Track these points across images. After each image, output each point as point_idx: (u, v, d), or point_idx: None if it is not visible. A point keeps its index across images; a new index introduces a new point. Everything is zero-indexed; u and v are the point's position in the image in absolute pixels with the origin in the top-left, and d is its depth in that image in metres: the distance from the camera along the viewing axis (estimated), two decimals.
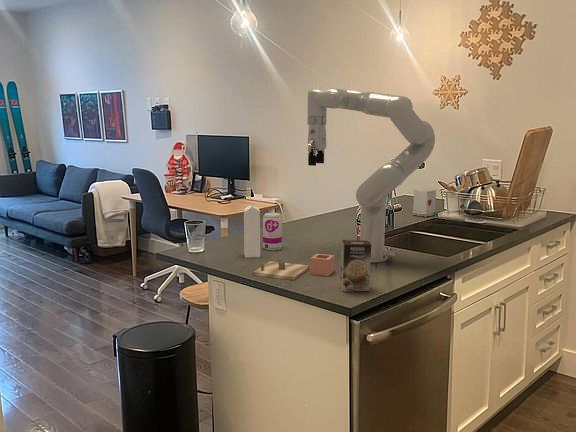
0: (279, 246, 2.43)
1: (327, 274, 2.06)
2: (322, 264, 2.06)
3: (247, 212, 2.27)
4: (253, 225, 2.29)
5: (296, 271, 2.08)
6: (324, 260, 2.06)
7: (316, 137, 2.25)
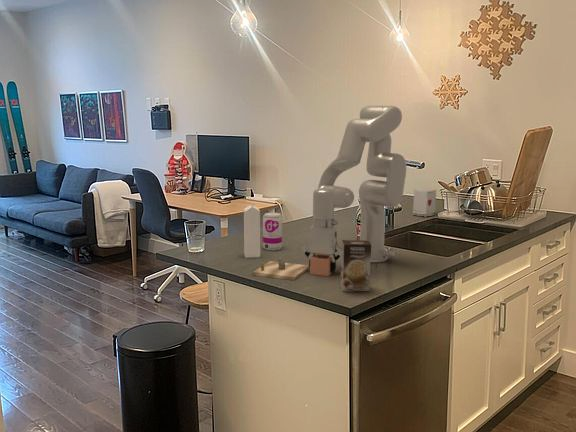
0: (279, 246, 2.43)
1: (327, 274, 2.06)
2: (322, 264, 2.06)
3: (247, 212, 2.27)
4: (253, 225, 2.29)
5: (296, 271, 2.08)
6: (324, 260, 2.06)
7: None
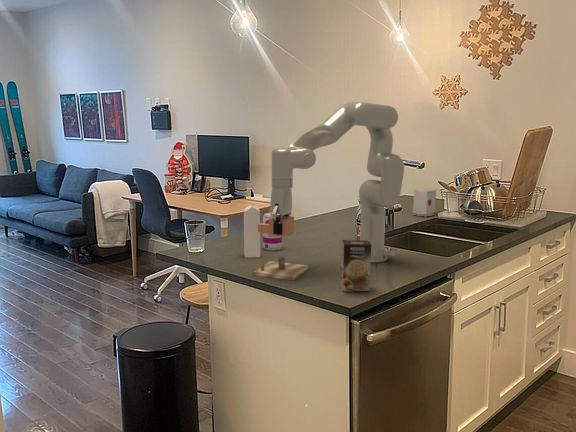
0: (279, 246, 2.43)
1: (293, 231, 2.10)
2: (291, 223, 2.07)
3: (247, 212, 2.27)
4: (253, 225, 2.29)
5: (296, 271, 2.08)
6: (292, 218, 2.08)
7: None
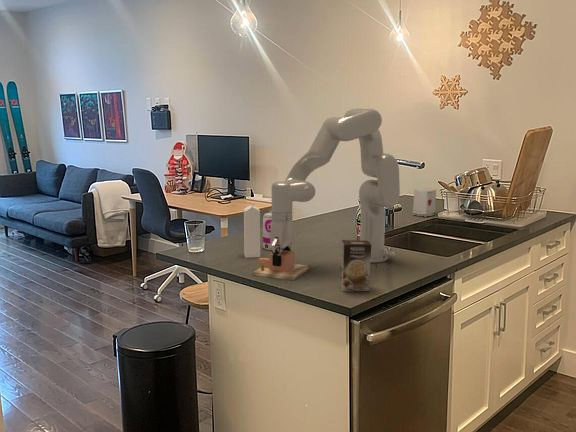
0: (279, 246, 2.43)
1: (293, 266, 2.12)
2: (292, 258, 2.10)
3: (247, 212, 2.27)
4: (253, 225, 2.29)
5: (296, 271, 2.08)
6: (292, 253, 2.10)
7: None
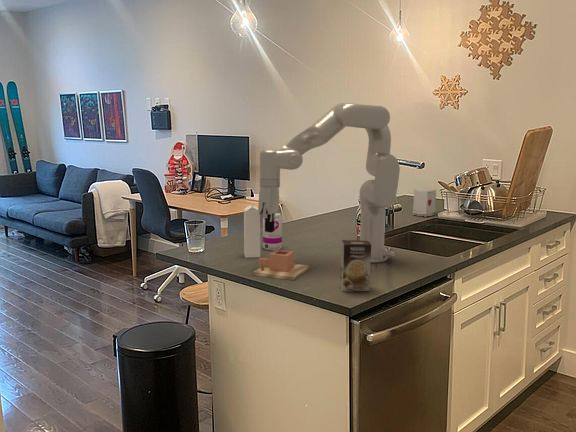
0: (279, 246, 2.43)
1: (293, 266, 2.12)
2: (292, 258, 2.10)
3: (247, 212, 2.27)
4: (253, 225, 2.29)
5: (296, 271, 2.08)
6: (292, 253, 2.10)
7: None
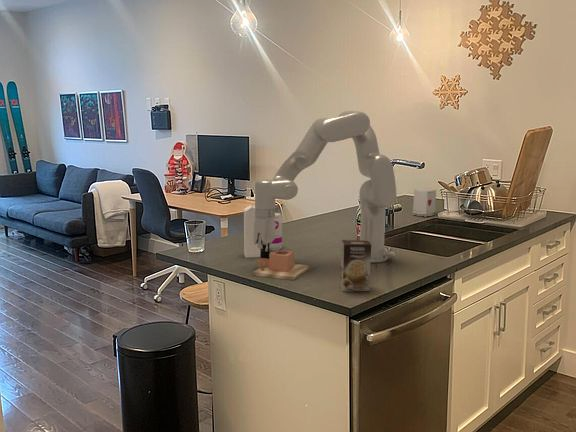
0: (279, 246, 2.43)
1: (293, 265, 2.12)
2: (292, 258, 2.10)
3: (247, 212, 2.27)
4: (253, 225, 2.29)
5: (296, 271, 2.08)
6: (292, 253, 2.10)
7: None
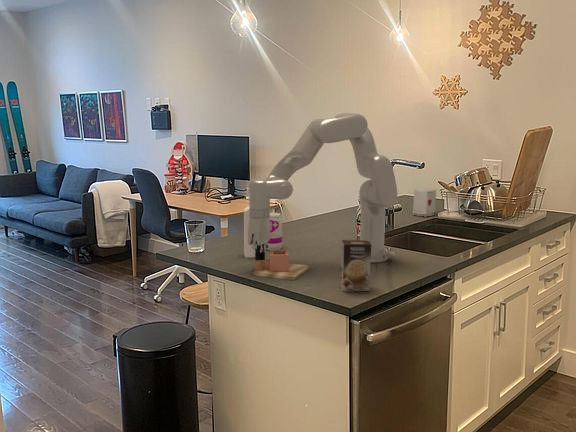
0: (279, 246, 2.43)
1: None
2: None
3: (247, 212, 2.27)
4: None
5: (296, 271, 2.08)
6: (288, 251, 2.11)
7: None
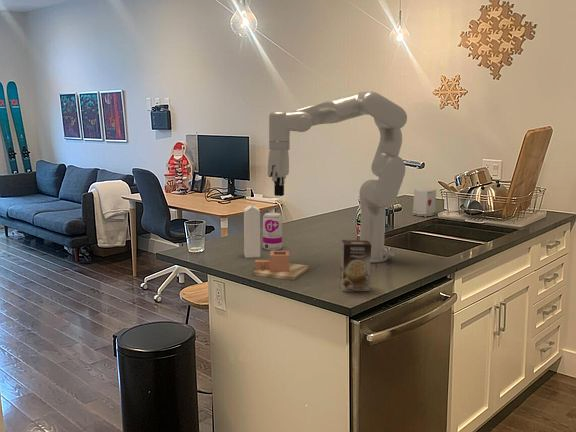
0: (279, 246, 2.43)
1: None
2: None
3: (247, 212, 2.27)
4: (253, 225, 2.29)
5: (296, 271, 2.08)
6: None
7: None
